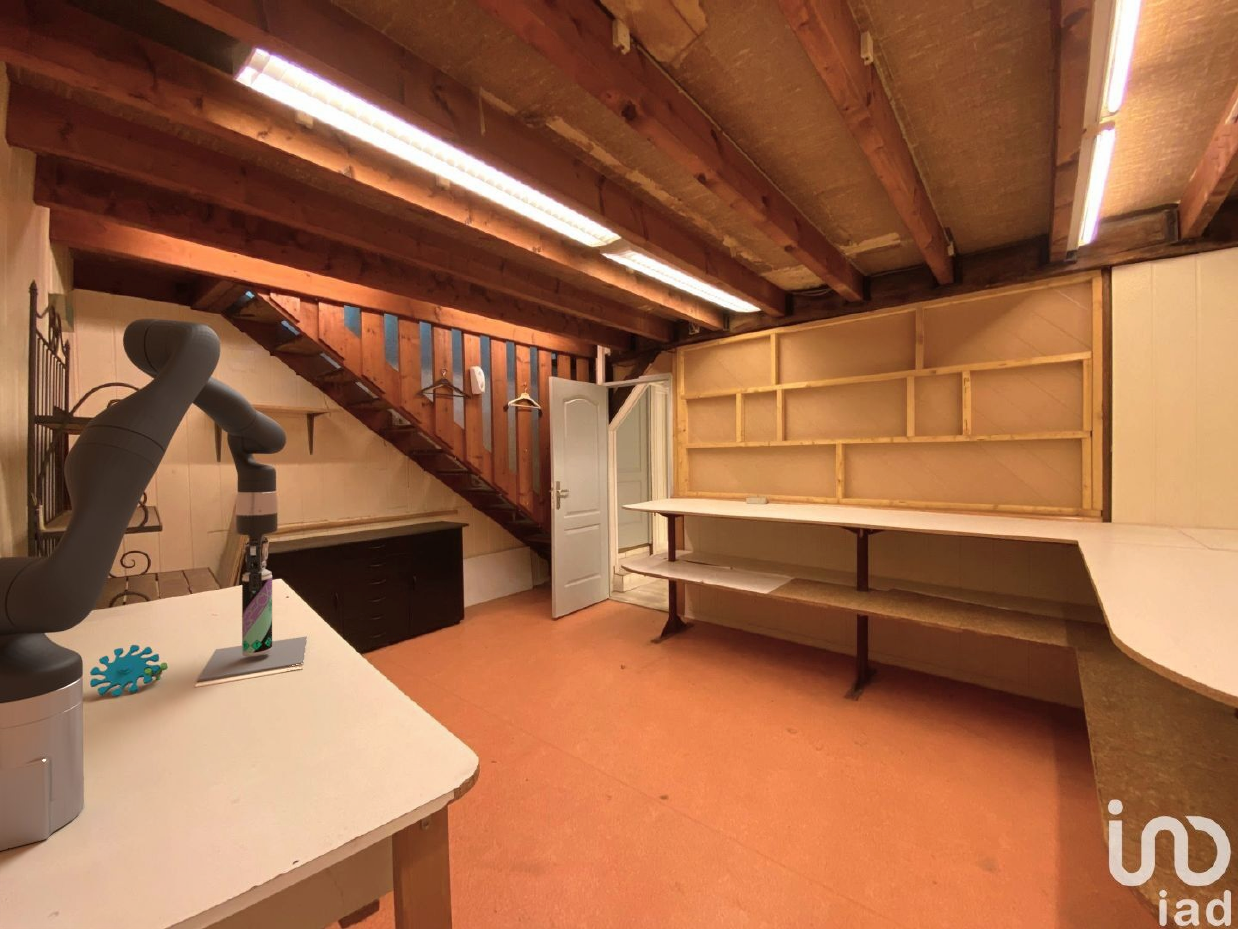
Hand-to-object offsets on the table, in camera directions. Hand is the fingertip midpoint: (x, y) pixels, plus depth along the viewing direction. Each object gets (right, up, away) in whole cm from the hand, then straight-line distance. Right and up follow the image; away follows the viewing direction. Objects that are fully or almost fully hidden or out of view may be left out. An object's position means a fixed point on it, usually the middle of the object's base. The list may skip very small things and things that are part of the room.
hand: (257, 587), depth 113 cm
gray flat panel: (0, -16, 0) cm, 16 cm away
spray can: (0, -15, 0) cm, 15 cm away
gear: (-15, -17, -14) cm, 26 cm away
